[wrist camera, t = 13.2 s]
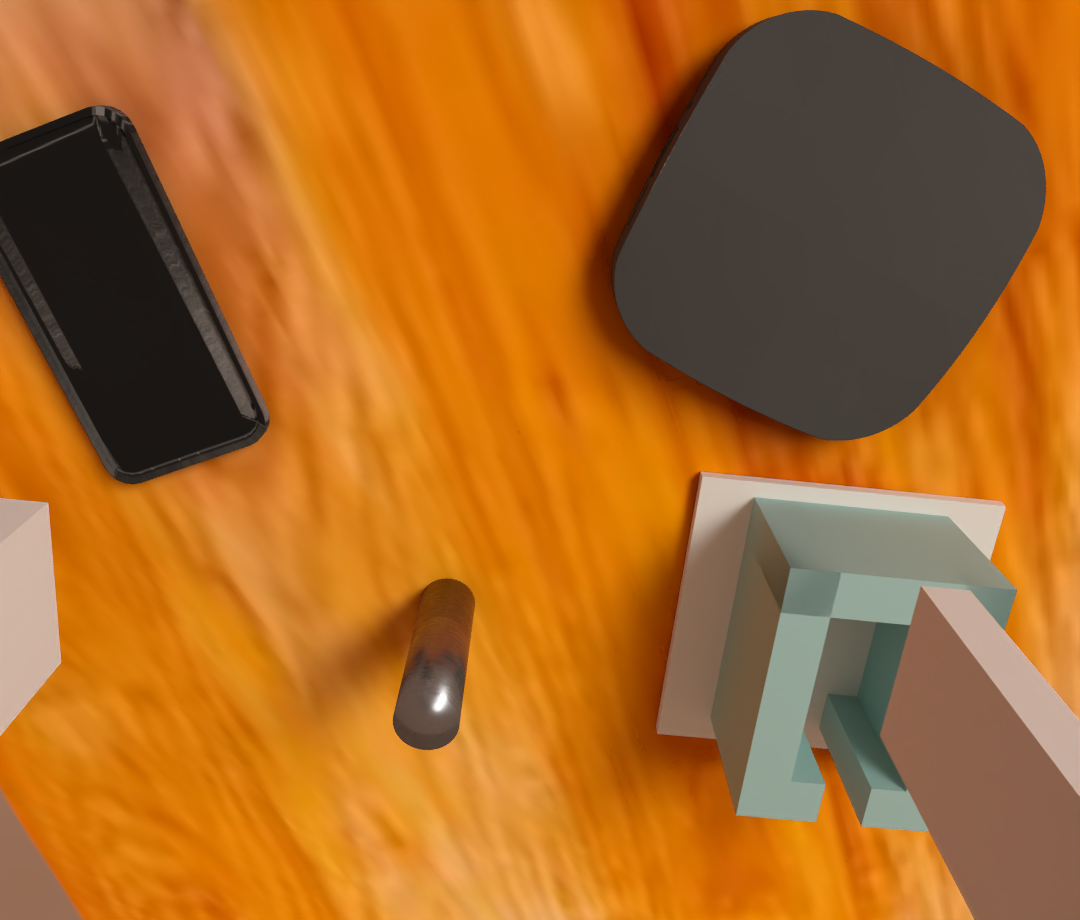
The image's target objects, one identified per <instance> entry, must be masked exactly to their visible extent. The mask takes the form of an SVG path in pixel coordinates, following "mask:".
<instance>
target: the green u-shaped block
mask: <svg viewBox="0 0 1080 920" xmlns="http://www.w3.org/2000/svg"><path fill="white" fill-rule="evenodd" d="M921 586H929V587H940V588H950V589H961V590H970V591H971V592H972V593H973V594H974V596H975V597H976V598H977V599H978V600H979V601H980V603H981V604H982V605H983V606H984V607H985V609H986V610H987V611H988V612H989V613H990V614H991V616H992V617H993V618H994V619H995V620H996V622H997V623H998V624H999V625H1000V626H1001V628H1002V629H1003V630H1005V627H1006V624H1007V620H1008V617H1009V614H1010V611H1011V608H1012V605H1013V601H1014V598H1015V595H1016V592H1017V589H1016V588H1015V587H1014V586H1013V585H1012V584H1011V583H1010V582H1009V581H1008V580H1007V578H1006V577H1005V576H1004V575H1003V574H1002V573H1001V572H1000V571H999V570H998V569H997V568H996V567H995V566H994V565H993V564H992V562H991V561H990V560H989V559H988V558H987V557H986V556H985V555H984V554H983V553H982V552H981V551H980V550H979V549H978V548H977V546H976V545H975V544H974V543H973V542H972V541H971V540H970V539H969V538H968V537H967V536H966V535H965V534H964V533H963V531H962V530H961V529H960V528H959V527H958V526H957V525H956V524H955V523H954V522H953V521H952V520H951V519H950V518H949V517H948V516H940V515H930V514H920V513H910V512H900V511H890V510H880V509H869V508H859V507H849V506H839V505H829V504H819V503H809V502H799V501H789V500H779V499H769V498H759V497H754V502H753V507H752V512H751V517H750V522H749V527H748V532H747V537H746V542H745V547H744V552H743V557H742V562H741V567H740V572H739V577H738V582H737V586H736V591H735V596H734V601H733V606H732V611H731V616H730V621H729V626H728V631H727V636H726V641H725V646H724V651H723V656H722V661H721V666H720V671H719V676H718V681H717V686H716V691H715V696H714V701H713V706H712V711H711V716H710V718H711V722H712V726H713V730H714V733H715V737H716V741H717V745H718V749H719V752H720V756H721V760H722V764H723V768H724V771H725V775H726V779H727V783H728V786H729V790H730V794H731V798H732V802H733V805H734V809H735V813H736V815H741V816H752V817H763V818H775V819H786V820H797V821H809V822H816V820H817V816H818V812H819V808H820V804H821V800H822V796H823V793H824V789H825V782H824V780H823V777H822V775H821V772H820V770H819V767H818V765H817V762H816V760H815V757H814V755H813V752H812V750H811V747H810V745H809V742H808V740H807V737H806V735H805V732H804V730H803V729H804V725H805V721H806V717H807V713H808V708H809V704H810V700H811V696H812V692H813V688H814V684H815V679H816V675H817V671H818V667H819V663H820V659H821V655H822V651H823V646H824V642H825V638H826V634H827V630H828V626H829V622H830V618H840V619H850V620H861V621H871V622H877V623H876V627H875V630H874V634H873V638H872V642H871V646H870V650H869V653H868V657H867V661H866V665H865V669H864V673H863V676H862V680H861V684H860V688H859V692H858V695H857V696H847V695H837V694H827V697H826V701H825V705H824V709H823V713H822V717H821V721H820V725H819V729H820V731H821V733H822V736H823V738H824V740H825V743H826V745H827V747H828V750H829V752H830V754H831V757H832V759H833V761H834V764H835V766H836V768H837V771H838V773H839V775H840V778H841V780H842V782H843V785H844V787H845V789H846V792H847V794H848V796H849V799H850V801H851V803H852V806H853V808H854V810H855V813H856V815H857V817H858V820H859V822H860V824H861V826H866V827H877V828H888V829H900V830H911V831H922V832H929V830H928V828H927V826H926V824H925V822H924V820H923V818H922V817H921V815H920V813H919V811H918V809H917V807H916V805H915V803H914V801H913V799H912V797H911V795H910V793H909V791H908V789H907V788H906V786H905V784H904V782H903V780H902V778H901V776H900V774H899V772H898V770H897V768H896V766H895V764H894V762H893V760H892V758H891V757H890V755H889V753H888V751H887V749H886V747H885V745H884V743H883V741H882V739H881V737H880V733H881V730H882V726H883V722H884V719H885V715H886V711H887V708H888V704H889V701H890V697H891V693H892V690H893V686H894V682H895V679H896V675H897V671H898V668H899V664H900V660H901V657H902V653H903V649H904V646H905V642H906V638H907V635H908V631H909V627H910V624H911V620H912V616H913V613H914V609H915V606H916V602H917V598H918V595H919V591H920V587H921Z"/></svg>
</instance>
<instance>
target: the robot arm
mask: <svg viewBox="0 0 1080 920" xmlns="http://www.w3.org/2000/svg"><path fill="white" fill-rule="evenodd" d="M60 663H61V653H60V641H59V629H58V616H57V604H56V592H55V580H54V567H53V555H52V543H51V531H50V518H49V506H48V503H46V502H36V501H25V500H15V499H4V498H0V736H1V734H2V733H3V732H4V731H5V730H6V728H7V727H8V726H9V725H10V724H11V722H12V721H13V720H14V719H15V718H16V716H17V715H18V714H19V713H20V712H21V710H22V709H23V708H24V707H25V706H26V704H27V703H28V702H29V701H30V699H31V698H32V697H33V696H34V695H35V693H36V692H37V691H38V690H39V689H40V687H41V686H42V685H43V684H44V683H45V681H46V680H47V679H48V678H49V677H50V675H51V674H52V673H53V672H54V671H55V669H56V668H57V667H58V666H59V665H60ZM880 737H881V739H882V741H883V743H884V745H885V747H886V749H887V751H888V753H889V755H890V757H891V758H892V760H893V762H894V764H895V766H896V768H897V770H898V772H899V774H900V776H901V778H902V780H903V782H904V784H905V786H906V788H907V789H908V791H909V793H910V795H911V797H912V799H913V801H914V803H915V805H916V807H917V809H918V811H919V813H920V815H921V817H922V818H923V820H924V822H925V824H926V826H927V828H928V830H929V832H930V834H931V836H932V838H933V840H934V842H935V844H936V846H937V848H938V849H939V851H940V853H941V855H942V857H943V859H944V861H945V863H946V865H947V867H948V869H949V871H950V873H951V875H952V877H953V879H954V880H955V882H956V884H957V886H958V888H959V890H960V892H961V894H962V896H963V898H964V900H965V902H966V904H967V906H968V908H969V909H970V911H971V913H972V915H973V917H974V919H975V920H1080V720H1079V719H1078V718H1077V717H1076V715H1075V714H1074V713H1073V712H1072V711H1071V709H1070V708H1069V707H1068V706H1067V705H1066V703H1065V702H1064V701H1063V700H1062V699H1061V698H1060V696H1059V695H1058V694H1057V693H1056V692H1055V690H1054V689H1053V688H1052V687H1051V686H1050V685H1049V683H1048V682H1047V681H1046V680H1045V679H1044V677H1043V676H1042V675H1041V674H1040V673H1039V671H1038V670H1037V669H1036V668H1035V667H1034V666H1033V664H1032V663H1031V662H1030V661H1029V660H1028V658H1027V657H1026V656H1025V655H1024V654H1023V652H1022V651H1021V650H1020V649H1019V648H1018V647H1017V645H1016V644H1015V643H1014V642H1013V641H1012V639H1011V638H1010V637H1009V636H1008V635H1007V633H1006V632H1005V631H1004V630H1003V629H1002V628H1001V626H1000V625H999V624H998V623H997V622H996V620H995V619H994V618H993V617H992V616H991V614H990V613H989V612H988V611H987V610H986V609H985V607H984V606H983V605H982V604H981V603H980V601H979V600H978V599H977V598H976V597H975V596H974V594H973V593H972V592H971V591H970V590H961V589H950V588H940V587H929V586H921V587H920V591H919V595H918V598H917V602H916V606H915V609H914V613H913V616H912V620H911V624H910V627H909V631H908V635H907V638H906V642H905V646H904V649H903V653H902V657H901V660H900V664H899V668H898V671H897V675H896V679H895V682H894V686H893V690H892V693H891V697H890V701H889V704H888V708H887V711H886V715H885V719H884V722H883V726H882V730H881V733H880Z"/></svg>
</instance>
